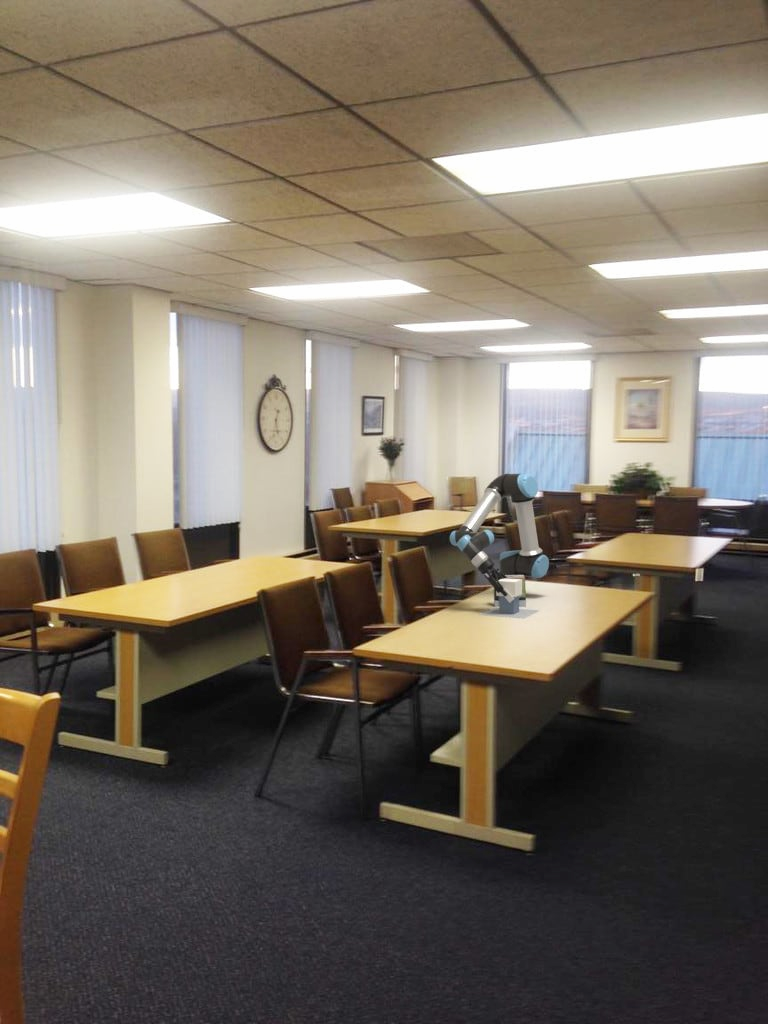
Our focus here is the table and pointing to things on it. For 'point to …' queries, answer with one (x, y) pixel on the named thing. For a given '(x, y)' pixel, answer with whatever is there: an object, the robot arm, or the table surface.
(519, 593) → the cap
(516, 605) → the carton
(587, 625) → the table surface
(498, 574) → the robot arm
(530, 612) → the mat
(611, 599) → the table surface
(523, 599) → the tea box
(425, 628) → the table surface
